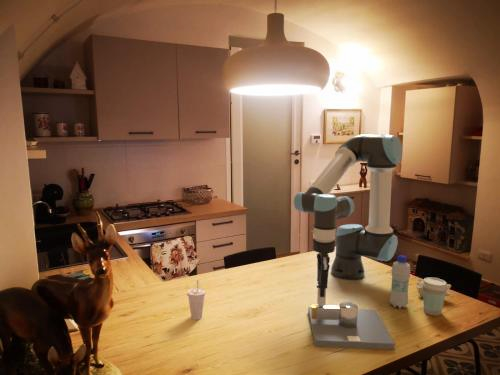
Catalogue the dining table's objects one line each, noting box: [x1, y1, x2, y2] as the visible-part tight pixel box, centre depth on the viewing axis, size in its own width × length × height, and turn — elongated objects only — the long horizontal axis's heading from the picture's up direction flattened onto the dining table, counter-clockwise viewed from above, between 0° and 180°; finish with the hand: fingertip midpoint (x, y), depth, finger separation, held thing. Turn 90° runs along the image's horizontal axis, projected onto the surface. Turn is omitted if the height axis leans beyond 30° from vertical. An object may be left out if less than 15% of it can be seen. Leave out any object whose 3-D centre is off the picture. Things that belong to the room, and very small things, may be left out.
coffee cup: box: [422, 276, 449, 317], centre depth 137 cm, size 8×8×12 cm
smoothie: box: [186, 279, 206, 321], centre depth 131 cm, size 6×6×14 cm
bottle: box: [389, 254, 412, 309], centre depth 141 cm, size 7×7×20 cm
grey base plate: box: [307, 306, 396, 351], centre depth 125 cm, size 22×24×2 cm
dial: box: [310, 301, 359, 328], centre depth 125 cm, size 15×6×6 cm, turn 87°
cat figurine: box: [416, 278, 452, 298], centre depth 150 cm, size 8×7×12 cm
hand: (321, 304), depth 132 cm, fingers closed
